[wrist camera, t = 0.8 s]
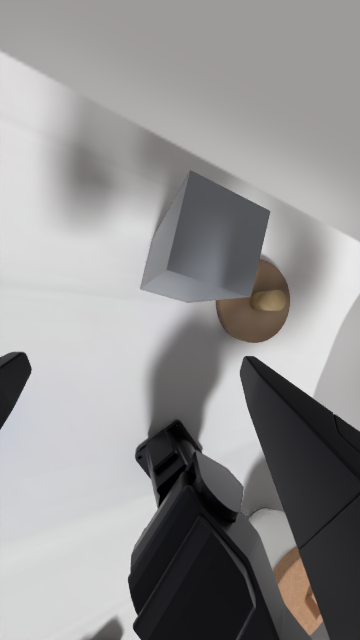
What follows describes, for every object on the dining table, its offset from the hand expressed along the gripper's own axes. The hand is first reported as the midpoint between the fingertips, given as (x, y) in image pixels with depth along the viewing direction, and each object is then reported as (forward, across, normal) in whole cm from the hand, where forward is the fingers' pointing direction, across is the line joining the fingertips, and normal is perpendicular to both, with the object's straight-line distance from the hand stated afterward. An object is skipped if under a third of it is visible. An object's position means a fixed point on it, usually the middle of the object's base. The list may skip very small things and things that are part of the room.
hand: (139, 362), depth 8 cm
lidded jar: (+4, -16, +36) cm, 39 cm away
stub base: (+18, -13, +5) cm, 23 cm away
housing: (+17, -2, +1) cm, 17 cm away
